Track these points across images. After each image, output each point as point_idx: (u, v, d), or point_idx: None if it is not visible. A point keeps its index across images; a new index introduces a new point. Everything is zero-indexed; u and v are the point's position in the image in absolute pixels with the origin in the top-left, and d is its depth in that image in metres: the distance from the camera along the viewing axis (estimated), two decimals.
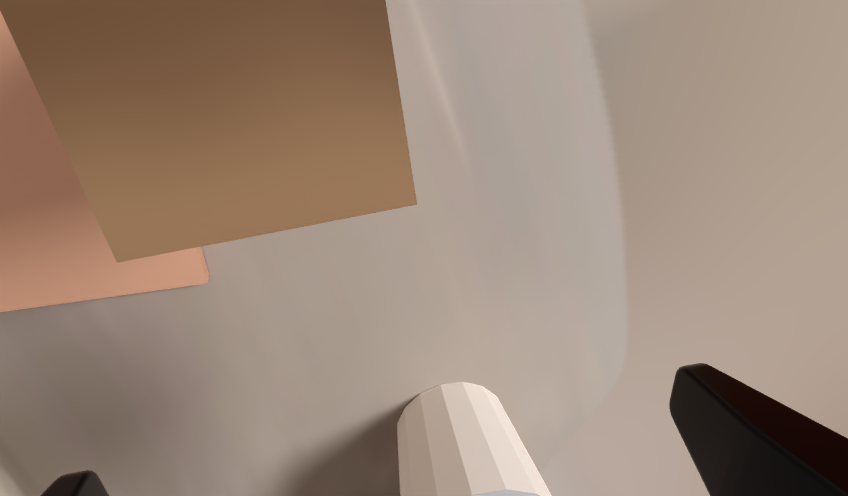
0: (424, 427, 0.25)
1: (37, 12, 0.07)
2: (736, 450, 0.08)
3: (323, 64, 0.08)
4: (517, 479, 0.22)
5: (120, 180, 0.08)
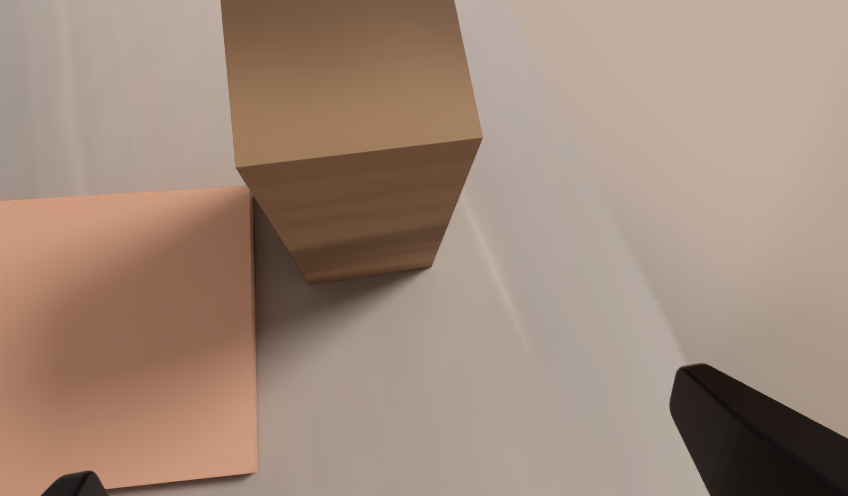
0: None
1: (241, 3, 0.12)
2: (736, 450, 0.08)
3: (413, 37, 0.12)
4: None
5: (258, 103, 0.11)
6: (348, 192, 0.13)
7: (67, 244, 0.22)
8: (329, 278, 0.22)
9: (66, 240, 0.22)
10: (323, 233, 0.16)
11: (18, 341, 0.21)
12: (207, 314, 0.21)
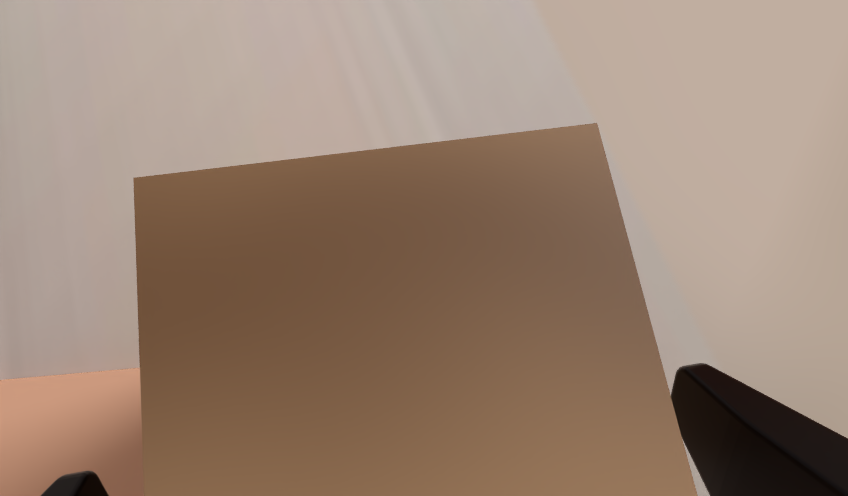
0: None
1: (183, 290, 0.05)
2: (736, 450, 0.08)
3: (557, 360, 0.06)
4: None
5: None
6: None
7: None
8: None
9: None
10: None
11: None
12: None
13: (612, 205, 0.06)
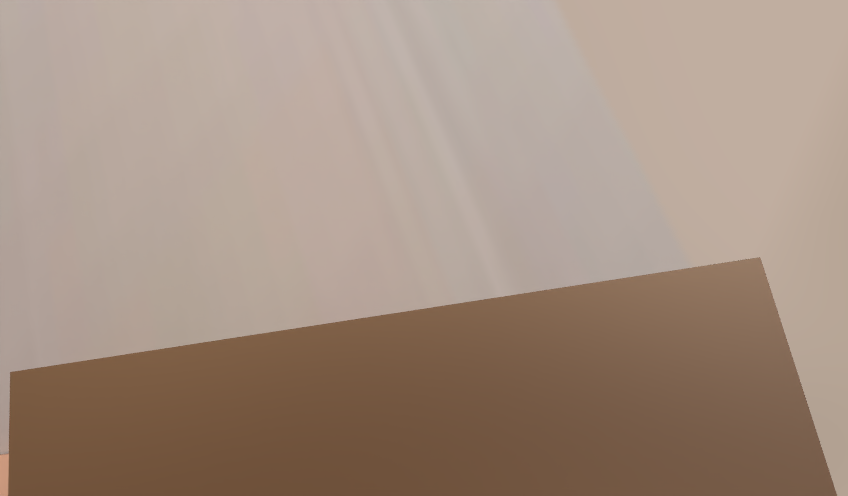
0: None
1: None
2: None
3: None
4: None
5: None
6: None
7: None
8: None
9: None
10: None
11: None
12: None
13: (795, 400, 0.04)
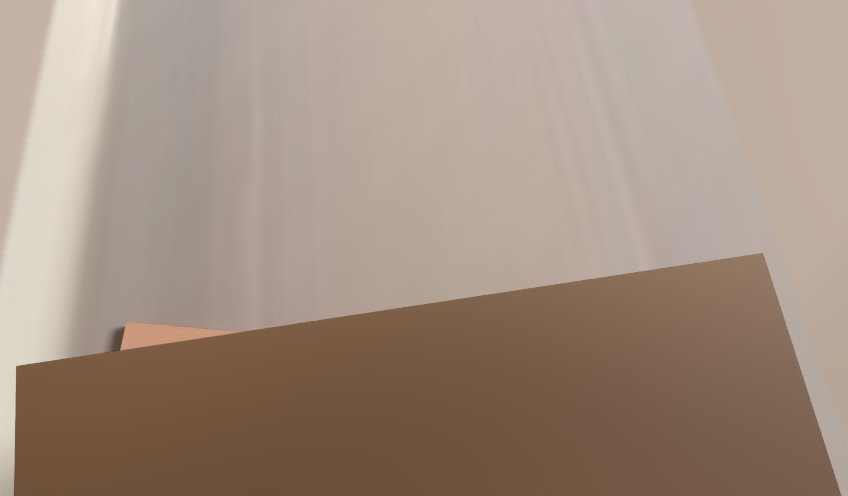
0: None
1: None
2: None
3: None
4: None
5: None
6: None
7: None
8: None
9: None
10: None
11: None
12: None
13: (799, 396, 0.04)
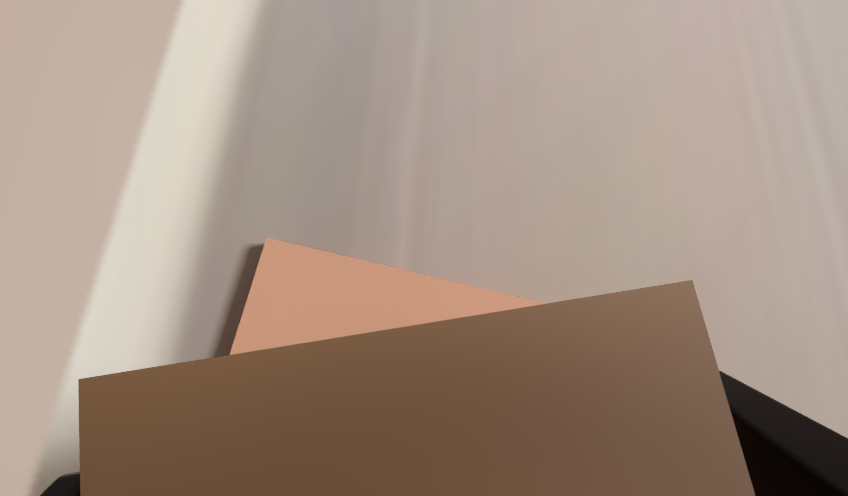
0: None
1: None
2: None
3: None
4: None
5: None
6: None
7: None
8: None
9: (382, 326, 0.16)
10: None
11: None
12: None
13: (718, 399, 0.05)
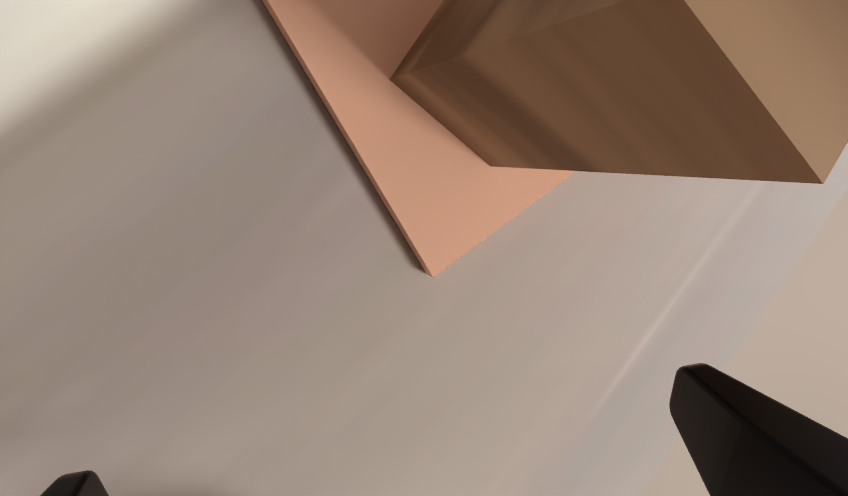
0: None
1: None
2: (736, 450, 0.08)
3: None
4: None
5: None
6: (642, 92, 0.11)
7: None
8: (414, 93, 0.19)
9: None
10: (524, 79, 0.13)
11: None
12: None
13: None
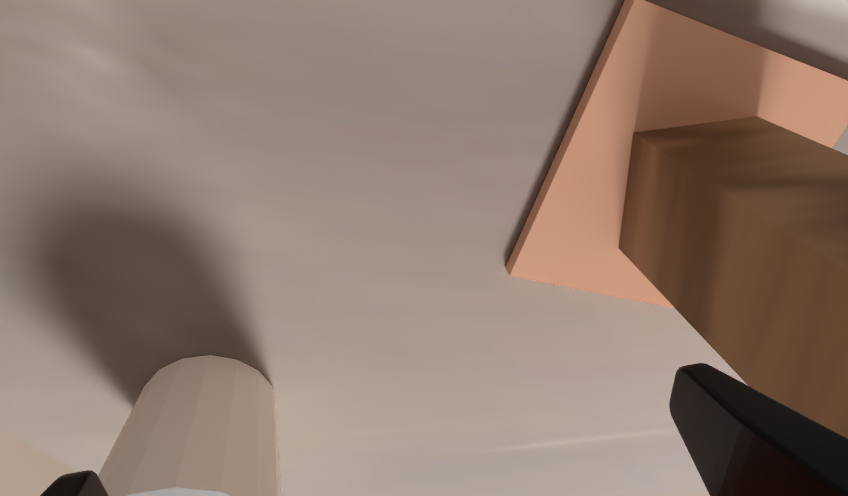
0: (273, 425, 0.22)
1: None
2: (736, 450, 0.08)
3: None
4: None
5: None
6: (824, 347, 0.13)
7: None
8: (638, 159, 0.20)
9: None
10: (747, 250, 0.15)
11: (722, 116, 0.21)
12: None
13: None
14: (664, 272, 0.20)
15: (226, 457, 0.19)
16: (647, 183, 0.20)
